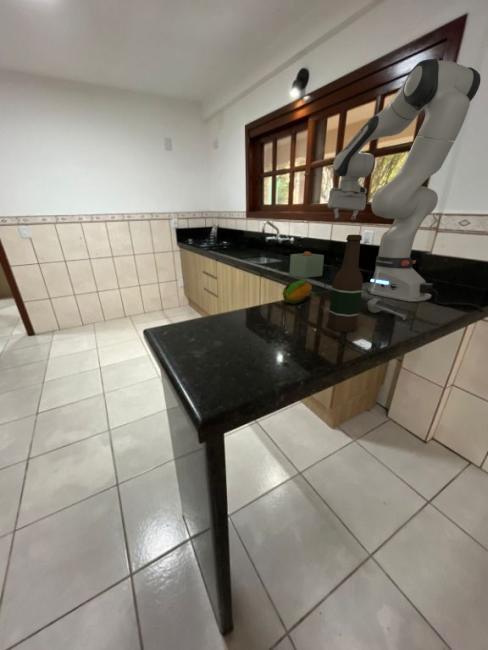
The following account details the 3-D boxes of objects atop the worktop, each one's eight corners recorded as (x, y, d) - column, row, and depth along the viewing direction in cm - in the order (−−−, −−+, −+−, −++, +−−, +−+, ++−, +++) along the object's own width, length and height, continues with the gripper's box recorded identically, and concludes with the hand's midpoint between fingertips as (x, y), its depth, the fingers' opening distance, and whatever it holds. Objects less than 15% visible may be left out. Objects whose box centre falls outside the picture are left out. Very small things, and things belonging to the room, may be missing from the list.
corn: (278, 283, 88) (301, 274, 104) (276, 304, 91) (299, 292, 107) (298, 287, 85) (319, 277, 100) (295, 309, 88) (316, 296, 103)
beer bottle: (323, 322, 76) (333, 234, 67) (350, 322, 75) (364, 234, 67) (331, 332, 68) (343, 235, 60) (361, 332, 68) (378, 235, 59)
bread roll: (312, 273, 142) (314, 251, 138) (305, 274, 140) (306, 252, 136) (306, 272, 147) (307, 250, 142) (298, 273, 144) (300, 251, 140)
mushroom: (404, 309, 74) (366, 294, 82) (396, 324, 75) (359, 308, 84) (413, 310, 78) (376, 296, 87) (406, 324, 80) (370, 309, 88)
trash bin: (322, 275, 141) (324, 255, 137) (304, 278, 136) (305, 256, 132) (306, 272, 152) (308, 253, 148) (289, 274, 146) (290, 254, 142)
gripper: (334, 185, 125) (331, 216, 128) (369, 189, 130) (365, 219, 134) (326, 188, 131) (323, 218, 134) (360, 192, 136) (357, 221, 140)
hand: (345, 219), depth 134 cm, fingers open, 8 cm apart
